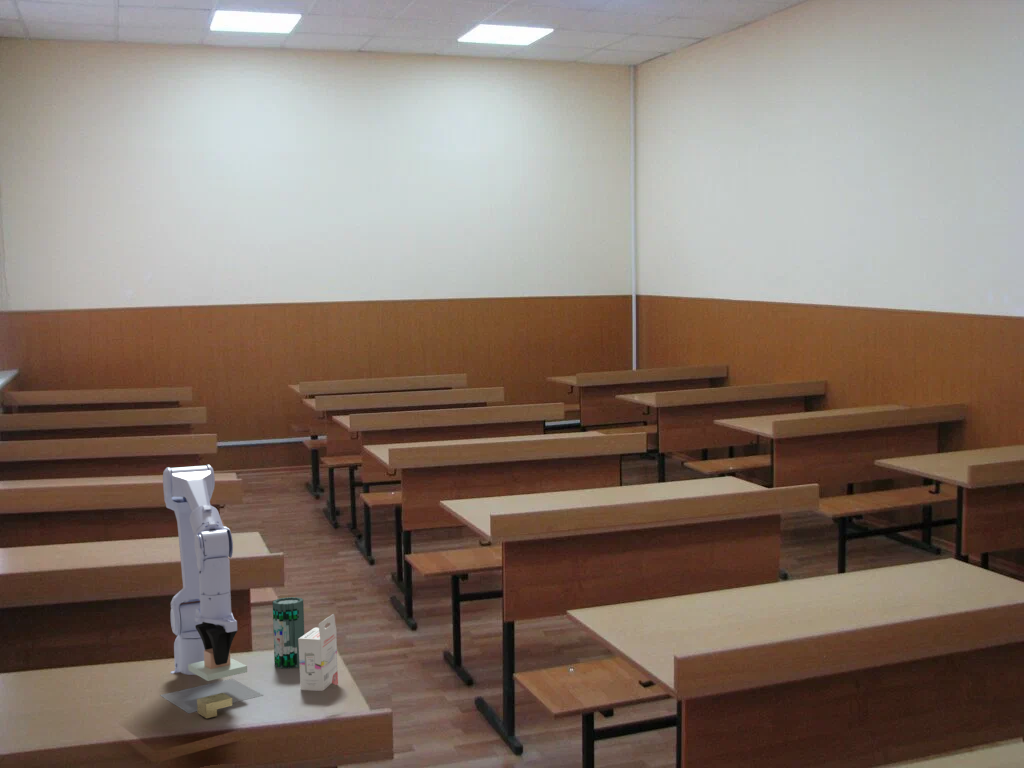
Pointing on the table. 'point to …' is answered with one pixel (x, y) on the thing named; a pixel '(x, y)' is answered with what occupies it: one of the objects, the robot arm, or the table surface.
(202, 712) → the yellow stepped block
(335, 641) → the ink cartridge box
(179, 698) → the flat gray mat
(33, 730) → the table surface
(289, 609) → the can
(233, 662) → the pink rectangular block
